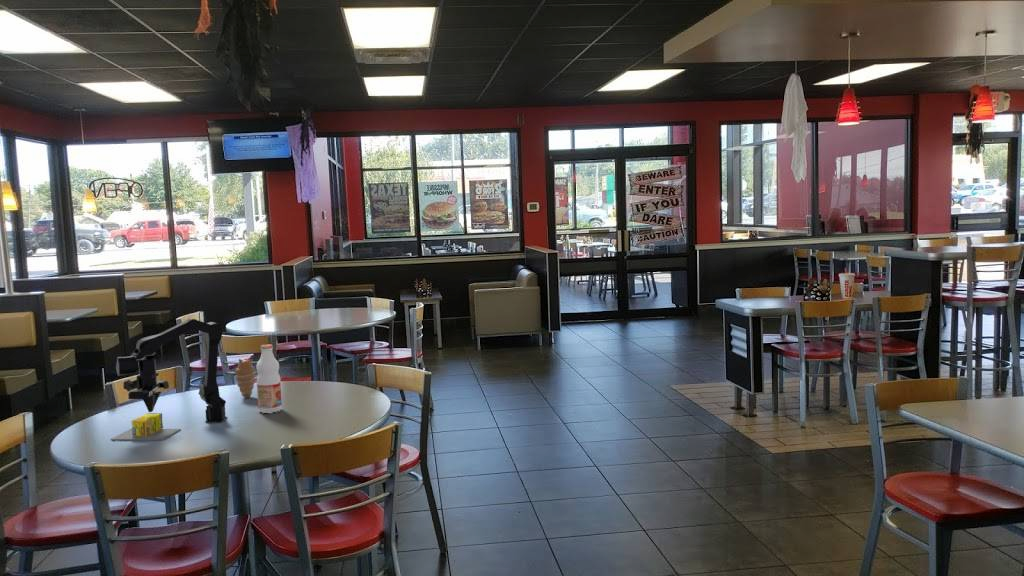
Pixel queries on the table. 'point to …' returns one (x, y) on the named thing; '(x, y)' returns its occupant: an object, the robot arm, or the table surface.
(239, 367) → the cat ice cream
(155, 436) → the mat
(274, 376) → the fruit juice
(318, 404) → the table surface
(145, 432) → the supplement box
